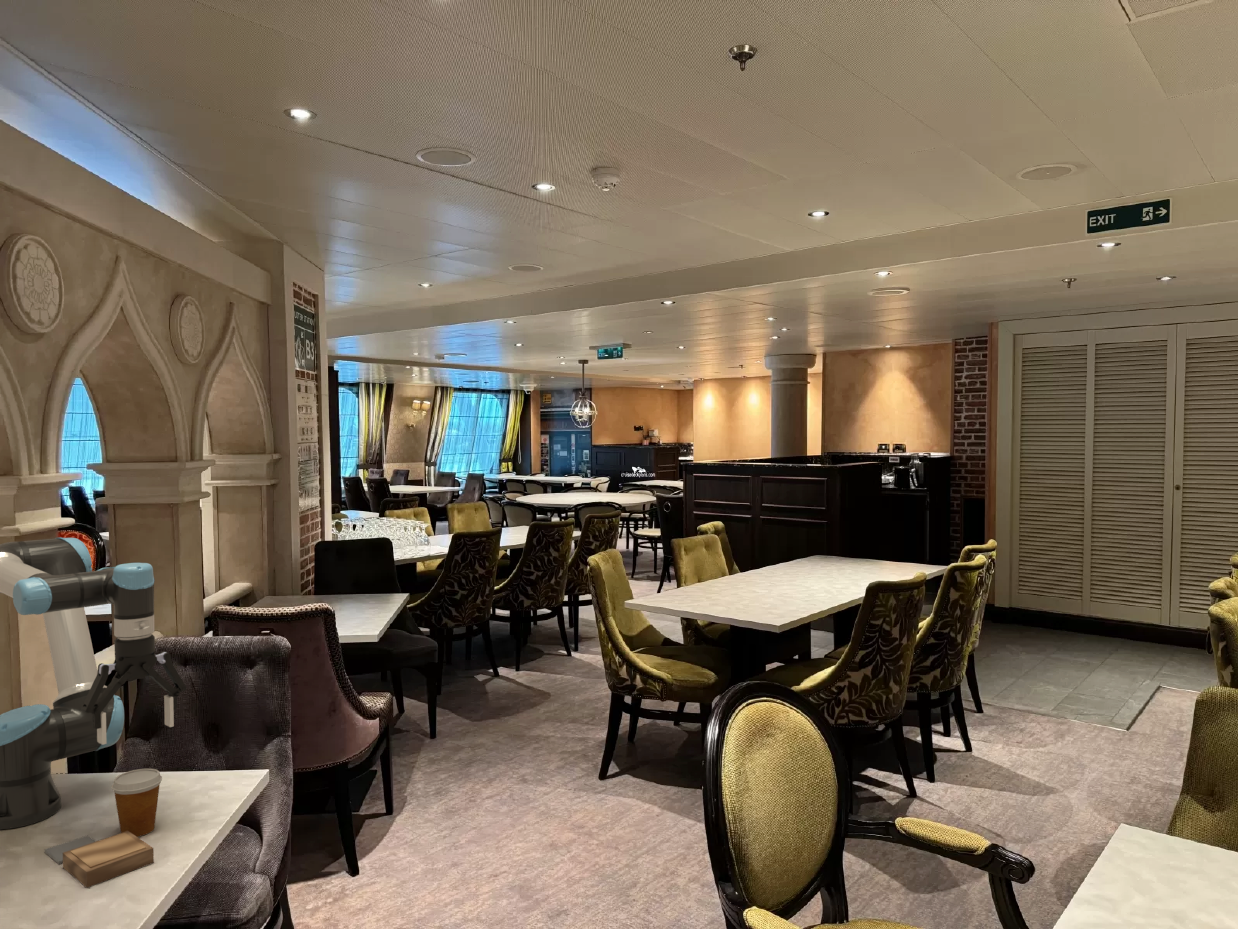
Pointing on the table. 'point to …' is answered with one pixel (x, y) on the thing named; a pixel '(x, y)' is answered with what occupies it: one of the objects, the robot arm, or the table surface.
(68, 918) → the table surface
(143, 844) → the walnut base
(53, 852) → the slate coaster
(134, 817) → the disposable coffee cup
